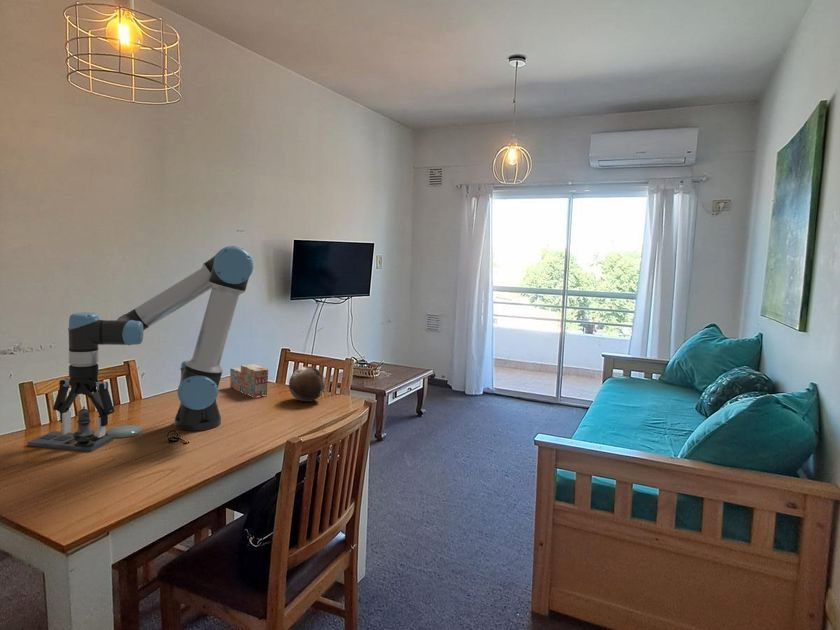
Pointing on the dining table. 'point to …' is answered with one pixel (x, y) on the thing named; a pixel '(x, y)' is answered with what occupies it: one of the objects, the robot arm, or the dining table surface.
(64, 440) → the grey compartment tray
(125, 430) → the coaster
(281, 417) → the dining table surface
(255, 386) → the stack of blocks
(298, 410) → the dining table surface
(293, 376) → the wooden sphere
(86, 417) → the dark grey chess piece
